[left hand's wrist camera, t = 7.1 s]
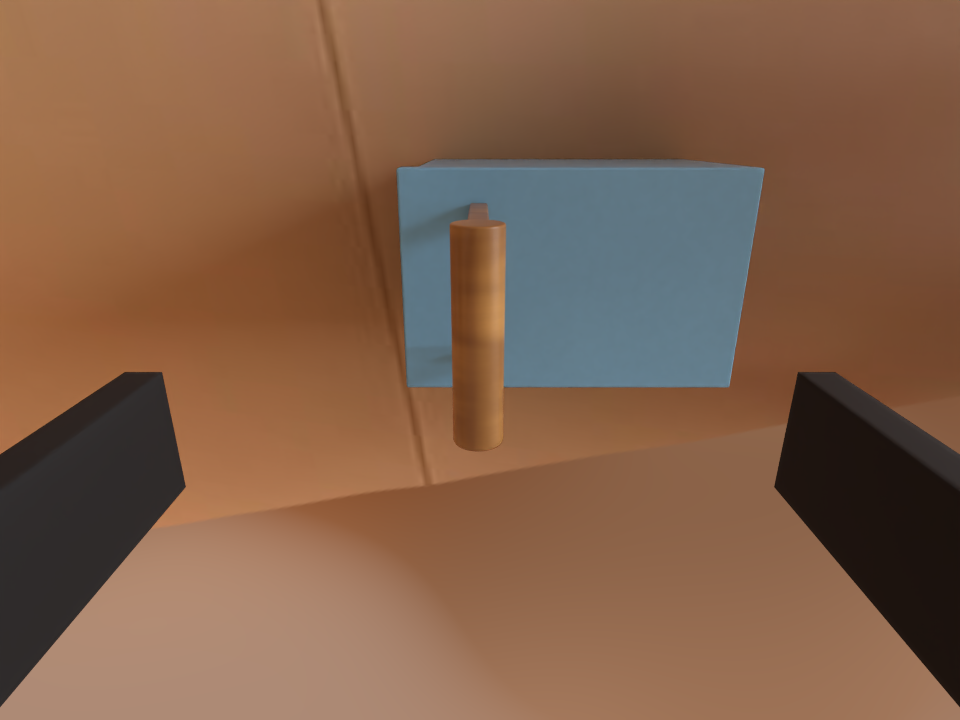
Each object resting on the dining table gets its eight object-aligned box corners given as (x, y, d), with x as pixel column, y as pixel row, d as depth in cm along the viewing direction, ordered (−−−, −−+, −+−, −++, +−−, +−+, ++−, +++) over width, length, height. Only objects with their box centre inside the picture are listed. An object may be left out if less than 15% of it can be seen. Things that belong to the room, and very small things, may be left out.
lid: (409, 379, 27) (378, 484, 19) (399, 166, 24) (356, 181, 15) (721, 379, 27) (825, 484, 19) (754, 166, 23) (899, 182, 15)
